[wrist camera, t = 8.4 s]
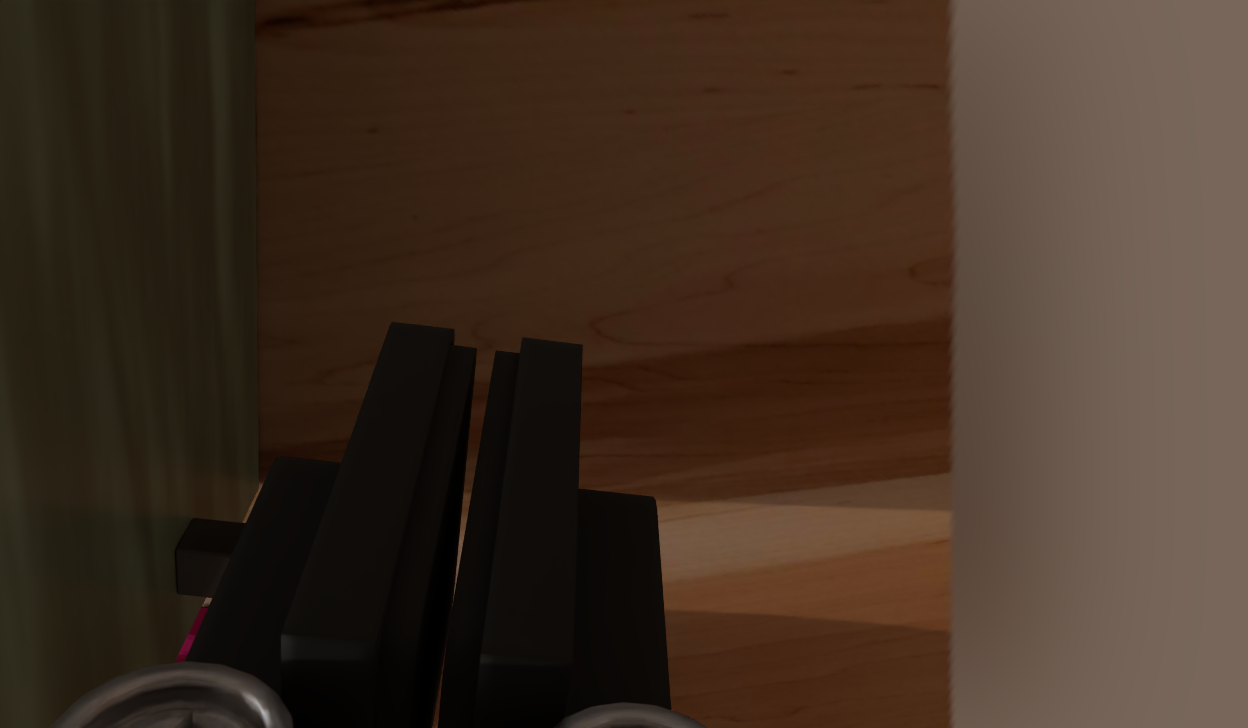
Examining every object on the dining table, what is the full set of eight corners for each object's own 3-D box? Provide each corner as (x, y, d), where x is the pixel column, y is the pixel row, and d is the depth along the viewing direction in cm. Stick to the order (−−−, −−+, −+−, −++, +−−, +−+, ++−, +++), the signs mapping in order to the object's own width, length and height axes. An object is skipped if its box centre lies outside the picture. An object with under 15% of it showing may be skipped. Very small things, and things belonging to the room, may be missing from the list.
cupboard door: (463, -347, 30) (80, -610, 8) (408, 504, 42) (195, 1289, 20) (212, -388, 29) (-874, -775, 8) (230, 485, 41) (-178, 1266, 20)
